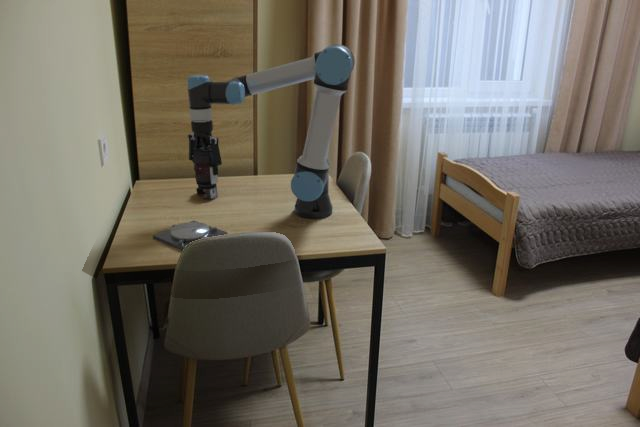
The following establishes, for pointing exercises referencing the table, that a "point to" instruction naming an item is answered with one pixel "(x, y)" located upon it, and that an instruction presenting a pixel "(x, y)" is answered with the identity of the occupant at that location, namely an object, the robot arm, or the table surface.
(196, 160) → the camera lens
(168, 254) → the table surface
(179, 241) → the mount board
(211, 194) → the caster wheel
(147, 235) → the table surface
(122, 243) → the table surface
